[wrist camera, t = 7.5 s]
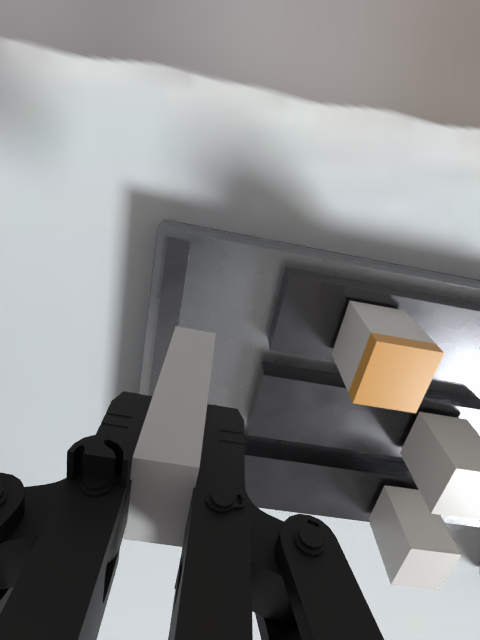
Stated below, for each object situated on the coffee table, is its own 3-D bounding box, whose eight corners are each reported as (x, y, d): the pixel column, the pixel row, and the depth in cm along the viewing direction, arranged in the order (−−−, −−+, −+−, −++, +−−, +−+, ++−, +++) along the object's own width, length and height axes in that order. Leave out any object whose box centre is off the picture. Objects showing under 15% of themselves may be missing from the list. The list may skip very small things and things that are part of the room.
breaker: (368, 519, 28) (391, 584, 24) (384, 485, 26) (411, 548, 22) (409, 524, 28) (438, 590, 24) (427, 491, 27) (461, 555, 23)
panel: (135, 459, 30) (123, 498, 27) (163, 219, 23) (151, 234, 20) (484, 507, 33) (511, 548, 30) (612, 306, 25) (666, 331, 22)
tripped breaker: (331, 353, 22) (352, 403, 18) (349, 300, 21) (377, 341, 17) (383, 362, 22) (416, 413, 18) (404, 310, 21) (444, 353, 17)
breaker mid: (400, 452, 25) (430, 513, 21) (419, 411, 24) (456, 468, 20) (445, 459, 26) (484, 520, 22) (466, 419, 24) (512, 476, 20)
